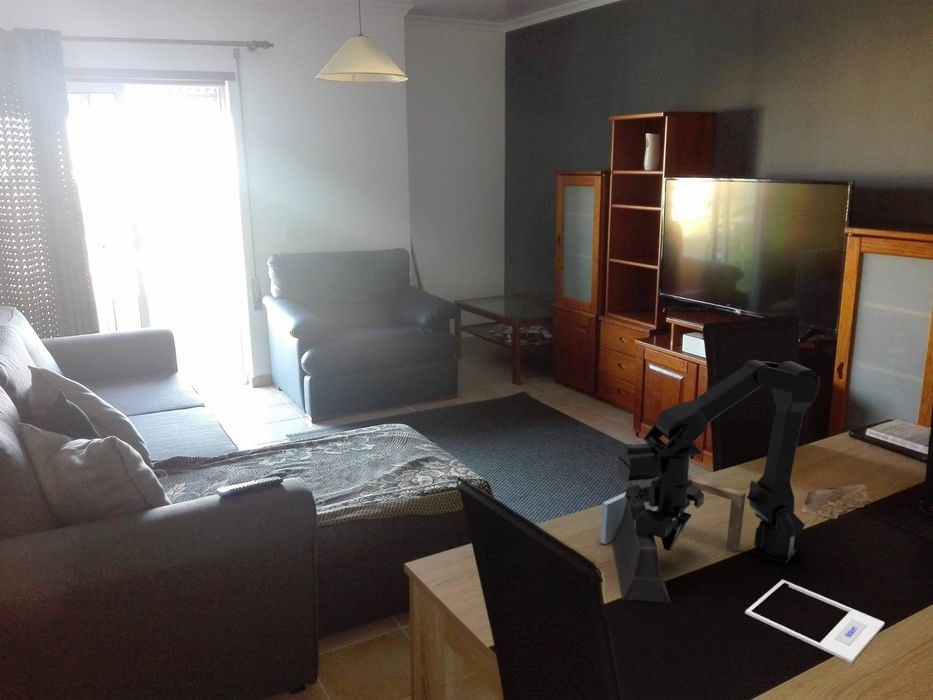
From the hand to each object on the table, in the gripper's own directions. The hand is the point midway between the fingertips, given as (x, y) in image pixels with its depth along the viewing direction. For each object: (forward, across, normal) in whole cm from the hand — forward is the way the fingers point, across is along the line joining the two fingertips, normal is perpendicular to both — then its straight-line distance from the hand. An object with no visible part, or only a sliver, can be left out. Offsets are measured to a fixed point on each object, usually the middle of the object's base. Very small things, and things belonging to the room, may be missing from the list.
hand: (667, 549), depth 146 cm
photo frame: (+5, -1, +27) cm, 28 cm away
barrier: (+4, +4, -4) cm, 7 cm away
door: (+3, -7, -13) cm, 15 cm away
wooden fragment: (+4, -53, +18) cm, 56 cm away
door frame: (+4, -15, -2) cm, 16 cm away
